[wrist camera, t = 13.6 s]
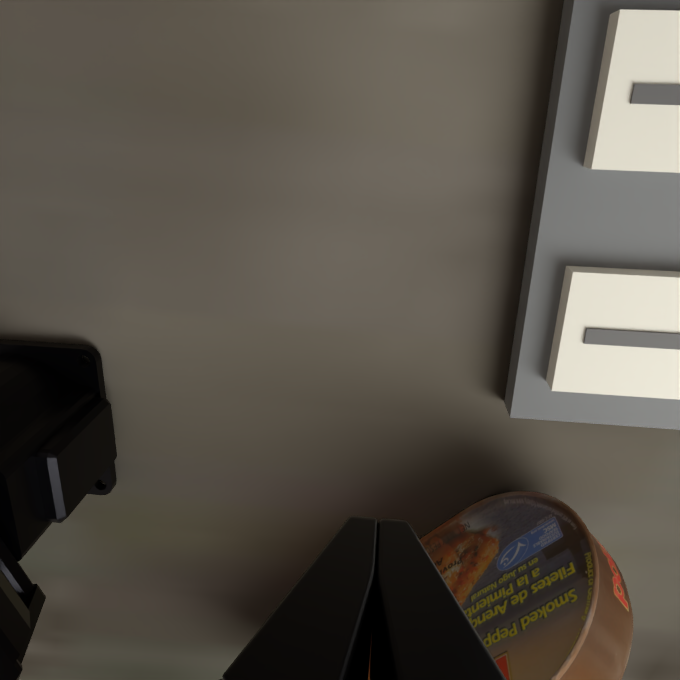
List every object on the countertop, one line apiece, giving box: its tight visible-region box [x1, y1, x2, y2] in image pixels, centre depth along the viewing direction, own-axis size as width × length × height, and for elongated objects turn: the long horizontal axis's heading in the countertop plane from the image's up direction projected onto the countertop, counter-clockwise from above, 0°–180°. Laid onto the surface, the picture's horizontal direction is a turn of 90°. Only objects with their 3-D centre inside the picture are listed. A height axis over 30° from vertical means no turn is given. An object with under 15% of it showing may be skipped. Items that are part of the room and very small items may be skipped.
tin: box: [368, 491, 633, 680], centre depth 21 cm, size 15×3×8 cm, turn 132°
